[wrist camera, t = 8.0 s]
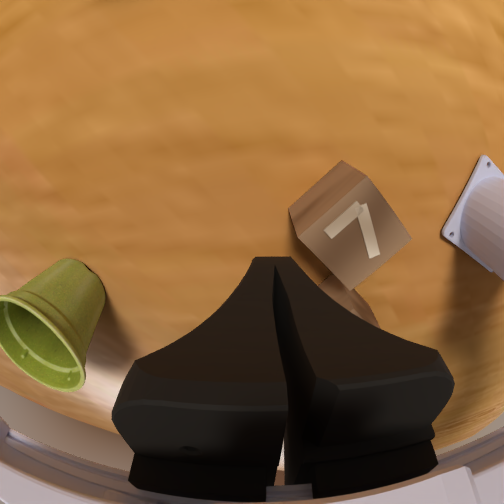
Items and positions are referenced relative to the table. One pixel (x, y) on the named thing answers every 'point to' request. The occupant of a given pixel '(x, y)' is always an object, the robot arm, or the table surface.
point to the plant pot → (53, 324)
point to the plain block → (348, 299)
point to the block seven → (348, 224)
